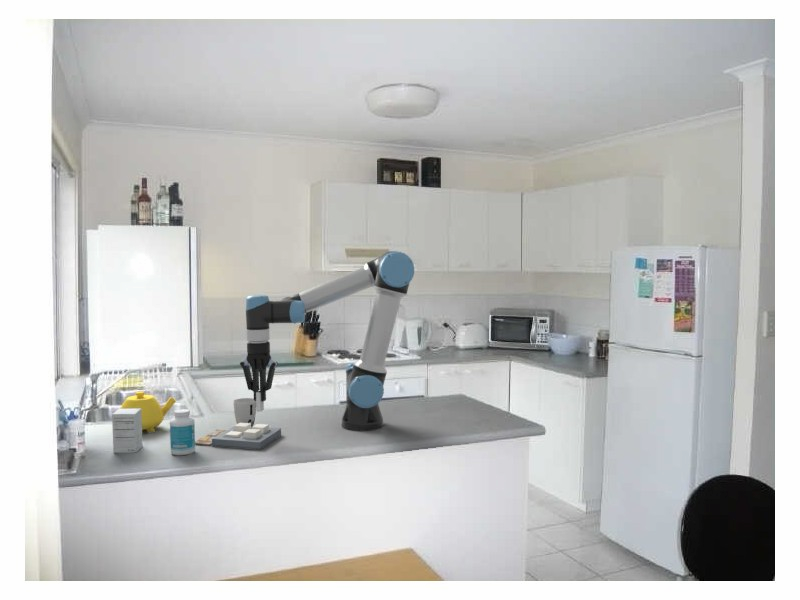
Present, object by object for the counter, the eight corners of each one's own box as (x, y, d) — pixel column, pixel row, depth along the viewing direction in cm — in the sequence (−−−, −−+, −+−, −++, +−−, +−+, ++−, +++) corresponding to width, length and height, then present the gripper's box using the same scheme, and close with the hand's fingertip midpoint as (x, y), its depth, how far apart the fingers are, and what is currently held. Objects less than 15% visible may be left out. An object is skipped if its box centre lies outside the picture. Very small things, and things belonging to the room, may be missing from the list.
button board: (281, 435, 240) (281, 428, 239) (260, 449, 223) (260, 442, 223) (235, 432, 243) (235, 425, 243) (212, 446, 227) (211, 438, 227)
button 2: (251, 430, 239) (251, 423, 238) (245, 434, 235) (245, 426, 234) (239, 430, 240) (239, 422, 239) (234, 433, 236) (234, 425, 235)
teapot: (175, 421, 258) (174, 385, 257) (178, 432, 244) (177, 393, 243) (117, 426, 251) (116, 389, 250) (117, 438, 237) (115, 398, 236)
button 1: (242, 439, 232) (242, 431, 232) (236, 443, 228) (236, 435, 228) (231, 438, 233) (230, 431, 233) (225, 442, 229) (225, 434, 229)
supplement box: (119, 446, 227) (118, 408, 226) (143, 445, 227) (142, 407, 226) (112, 453, 219) (111, 413, 218) (136, 452, 220) (135, 413, 219)
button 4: (268, 432, 237) (268, 424, 237) (263, 435, 233) (263, 427, 233) (257, 431, 238) (257, 423, 238) (252, 434, 234) (252, 426, 234)
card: (233, 432, 244) (233, 430, 244) (209, 446, 227) (209, 443, 227) (217, 431, 245) (217, 429, 245) (192, 444, 229) (192, 442, 229)
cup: (251, 431, 245) (250, 403, 244) (230, 430, 247) (229, 402, 246) (260, 425, 253) (260, 398, 252) (239, 424, 254) (239, 397, 254)
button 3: (260, 437, 231) (260, 429, 231) (255, 440, 227) (255, 432, 226) (249, 436, 232) (249, 428, 231) (243, 439, 228) (243, 432, 227)
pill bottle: (198, 453, 219) (197, 411, 218) (174, 457, 215) (173, 414, 214) (191, 447, 225) (190, 406, 224) (167, 451, 221) (166, 409, 220)
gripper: (280, 340, 235) (282, 408, 237) (245, 339, 238) (247, 407, 240) (271, 343, 228) (273, 414, 230) (235, 342, 231) (237, 412, 232)
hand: (260, 410), depth 235 cm, fingers closed
